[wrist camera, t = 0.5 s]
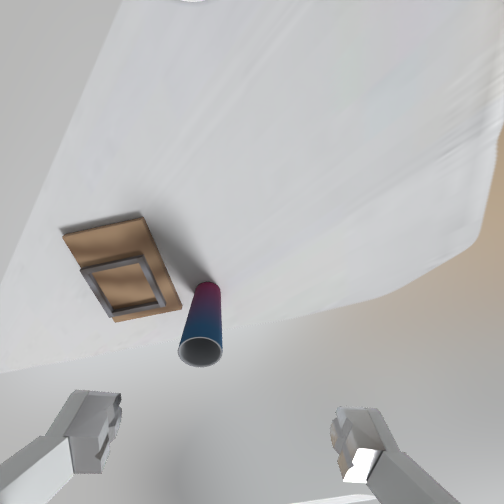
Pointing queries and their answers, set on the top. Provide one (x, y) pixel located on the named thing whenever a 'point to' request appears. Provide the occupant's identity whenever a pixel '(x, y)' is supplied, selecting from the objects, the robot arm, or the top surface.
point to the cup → (203, 328)
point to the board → (124, 269)
